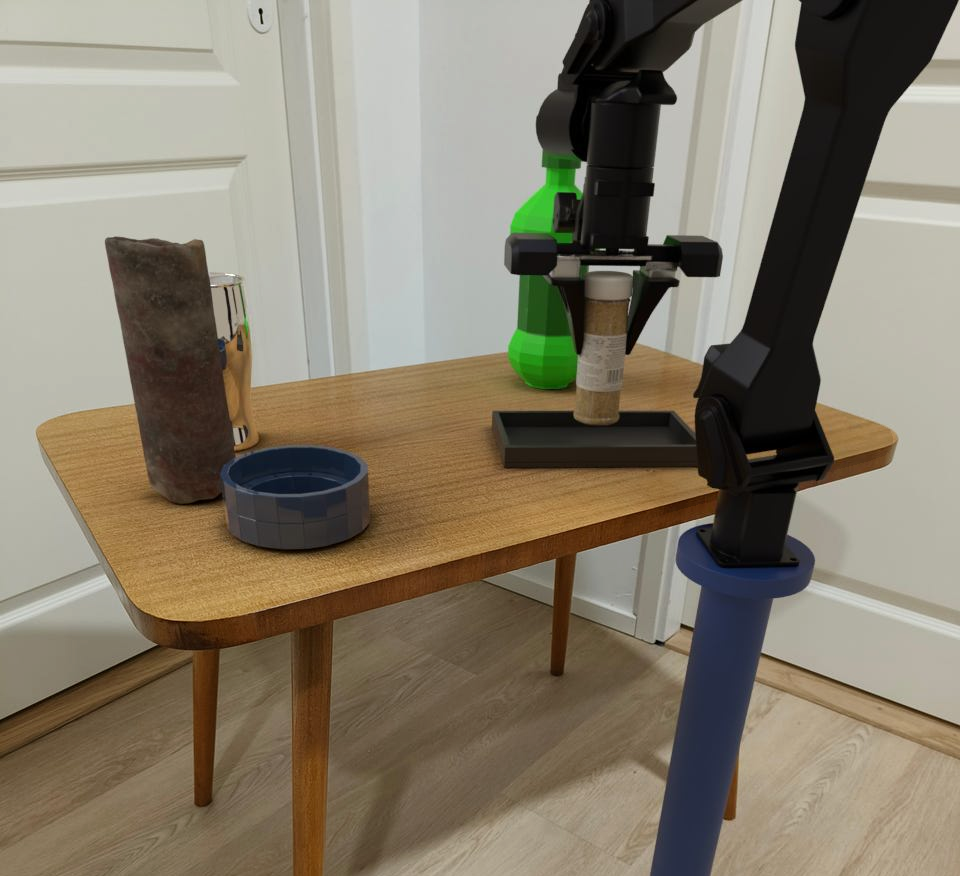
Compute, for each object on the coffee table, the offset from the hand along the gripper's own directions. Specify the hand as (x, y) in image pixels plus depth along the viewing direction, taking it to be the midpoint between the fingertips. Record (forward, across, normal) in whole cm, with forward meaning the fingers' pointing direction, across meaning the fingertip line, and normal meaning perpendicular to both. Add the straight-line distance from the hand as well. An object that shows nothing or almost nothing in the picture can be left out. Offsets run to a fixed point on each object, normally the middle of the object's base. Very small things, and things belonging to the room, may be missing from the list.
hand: (602, 353), depth 84 cm
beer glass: (+9, +36, -2) cm, 37 cm away
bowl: (+9, +28, +17) cm, 34 cm away
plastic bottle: (+9, +1, -23) cm, 25 cm away
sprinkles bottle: (+6, 0, 0) cm, 6 cm away
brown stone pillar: (+9, +37, +10) cm, 39 cm away
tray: (+9, 0, 0) cm, 9 cm away
